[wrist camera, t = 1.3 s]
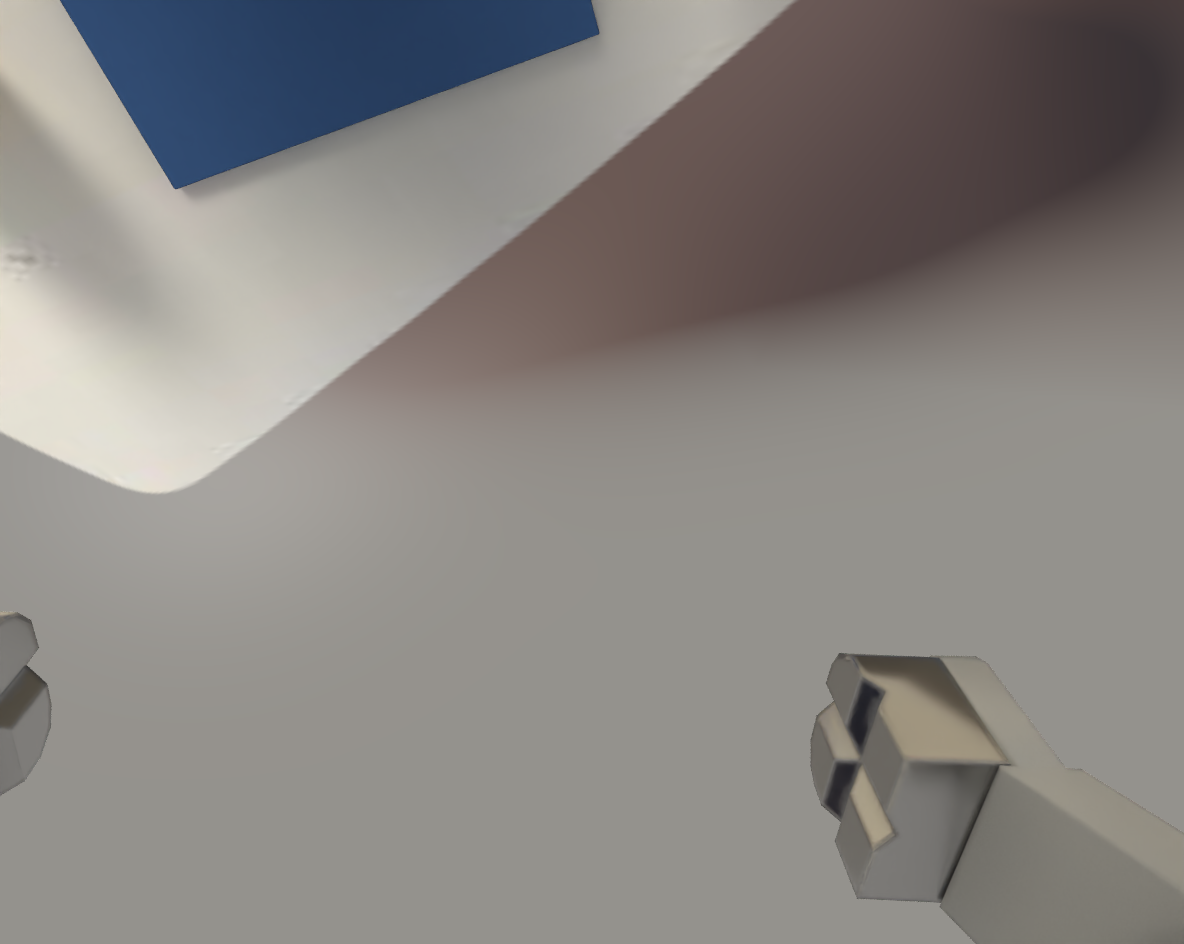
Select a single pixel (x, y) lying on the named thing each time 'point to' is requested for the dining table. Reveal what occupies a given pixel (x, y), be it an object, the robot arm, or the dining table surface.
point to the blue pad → (299, 64)
